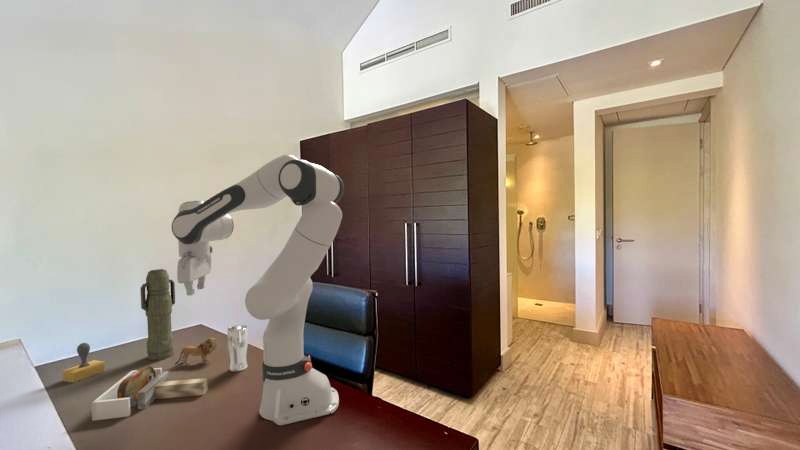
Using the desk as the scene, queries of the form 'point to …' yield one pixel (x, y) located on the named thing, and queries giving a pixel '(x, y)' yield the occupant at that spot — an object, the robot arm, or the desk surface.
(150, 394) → the scraper
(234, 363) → the beer glass
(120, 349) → the desk surface
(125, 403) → the box
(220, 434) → the desk surface
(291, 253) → the robot arm
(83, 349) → the rubber stamp
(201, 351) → the lion figurine
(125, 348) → the desk surface
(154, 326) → the thermos
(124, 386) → the tin
